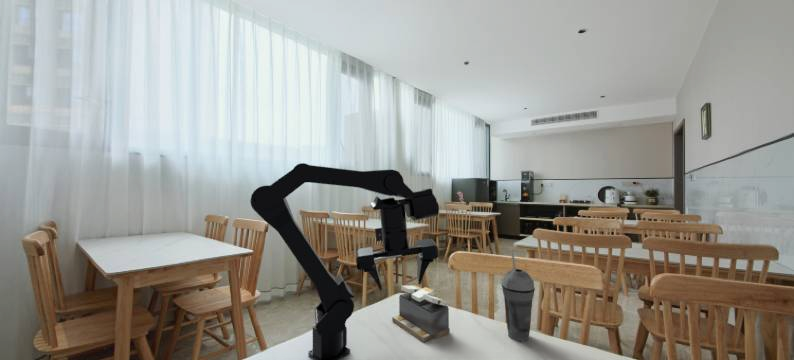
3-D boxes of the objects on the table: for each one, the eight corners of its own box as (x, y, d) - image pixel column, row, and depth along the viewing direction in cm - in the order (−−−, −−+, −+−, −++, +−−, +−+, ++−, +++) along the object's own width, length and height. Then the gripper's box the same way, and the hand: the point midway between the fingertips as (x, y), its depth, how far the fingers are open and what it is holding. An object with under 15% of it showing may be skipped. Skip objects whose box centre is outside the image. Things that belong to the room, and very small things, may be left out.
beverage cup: (539, 346, 67) (538, 255, 67) (504, 342, 68) (503, 253, 69) (531, 330, 74) (530, 248, 74) (500, 327, 76) (499, 247, 76)
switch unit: (423, 342, 69) (423, 314, 69) (392, 321, 79) (392, 296, 79) (449, 332, 73) (449, 306, 73) (416, 313, 84) (416, 290, 84)
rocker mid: (419, 302, 74) (419, 297, 74) (411, 297, 77) (410, 293, 77) (434, 294, 77) (433, 290, 77) (425, 290, 80) (425, 286, 80)
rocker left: (408, 293, 78) (408, 288, 78) (400, 289, 81) (401, 285, 81) (422, 292, 80) (423, 288, 81) (414, 289, 83) (415, 285, 83)
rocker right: (431, 302, 70) (432, 297, 71) (422, 297, 73) (423, 293, 73) (445, 306, 73) (446, 301, 73) (436, 301, 76) (437, 297, 76)
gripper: (425, 209, 78) (430, 265, 81) (353, 219, 76) (360, 276, 79) (437, 223, 67) (441, 287, 70) (352, 234, 65) (361, 300, 68)
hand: (400, 286), depth 72 cm, fingers open, 9 cm apart
